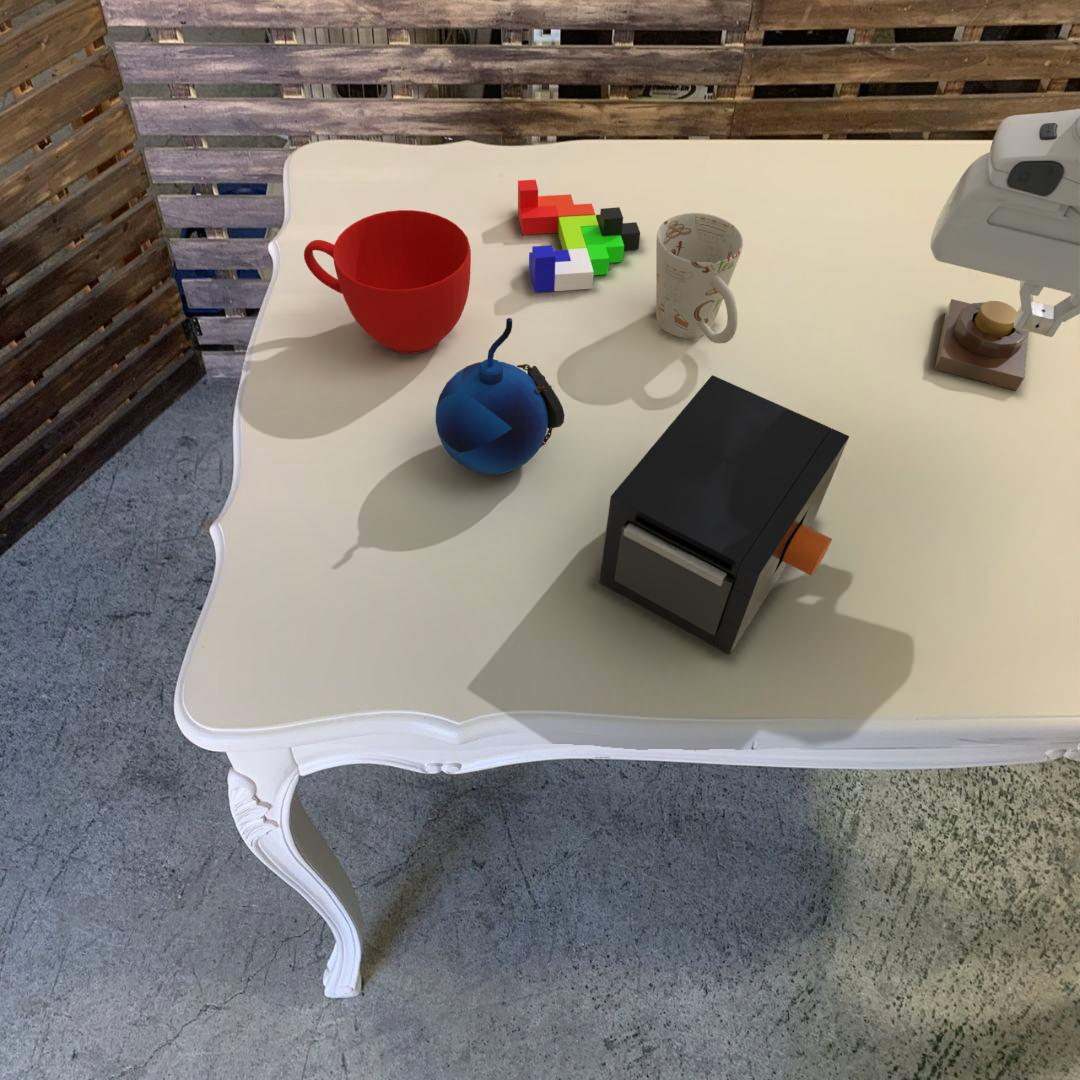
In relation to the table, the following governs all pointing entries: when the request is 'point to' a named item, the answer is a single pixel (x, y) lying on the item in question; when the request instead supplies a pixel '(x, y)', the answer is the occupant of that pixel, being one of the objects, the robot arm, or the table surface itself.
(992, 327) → the button
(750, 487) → the oven
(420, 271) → the ceramic cup
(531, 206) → the building blocks
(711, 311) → the mug
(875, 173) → the table surface
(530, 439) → the bomb
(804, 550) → the oven button
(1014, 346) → the button block
